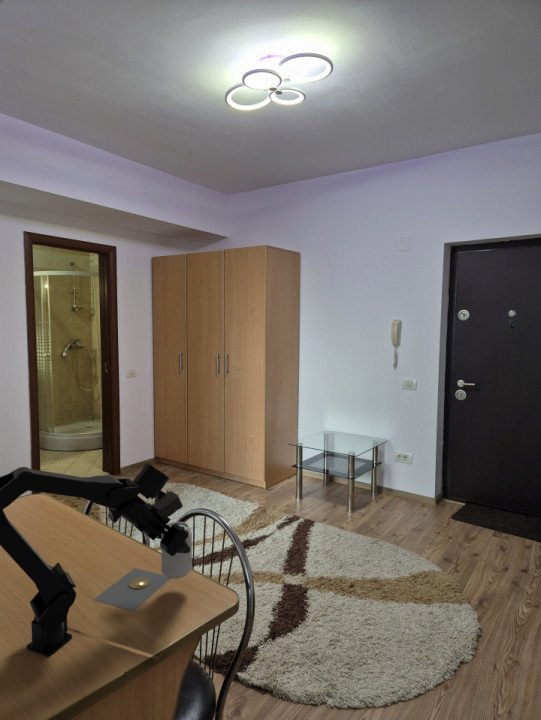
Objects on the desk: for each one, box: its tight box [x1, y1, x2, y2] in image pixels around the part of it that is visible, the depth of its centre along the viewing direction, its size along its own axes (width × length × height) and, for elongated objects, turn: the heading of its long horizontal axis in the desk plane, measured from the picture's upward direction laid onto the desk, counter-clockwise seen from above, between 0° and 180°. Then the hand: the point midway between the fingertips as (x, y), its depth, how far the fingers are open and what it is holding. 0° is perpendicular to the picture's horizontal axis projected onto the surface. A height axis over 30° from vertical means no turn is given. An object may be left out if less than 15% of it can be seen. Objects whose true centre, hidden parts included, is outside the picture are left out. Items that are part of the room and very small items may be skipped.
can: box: [160, 521, 193, 580], centre depth 118 cm, size 8×8×12 cm
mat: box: [93, 567, 172, 612], centre depth 120 cm, size 16×12×1 cm
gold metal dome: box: [129, 577, 149, 589], centre depth 122 cm, size 5×5×1 cm
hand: (181, 545), depth 119 cm, fingers closed on can, 7 cm apart
